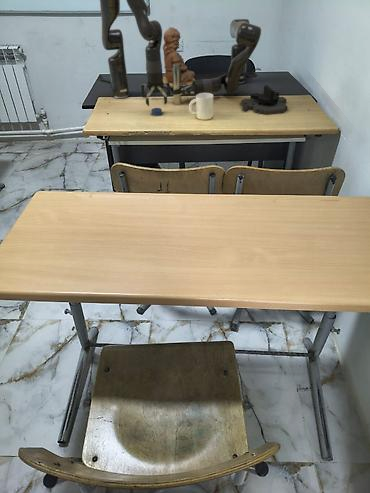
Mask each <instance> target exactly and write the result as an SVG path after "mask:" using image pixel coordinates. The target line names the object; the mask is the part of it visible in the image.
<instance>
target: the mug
mask: <svg viewBox="0 0 370 493" xmlns="http://www.w3.org/2000/svg"><path fill="white" fill-rule="evenodd" d="M194 103H195V111H194V110H193V109H192V107H193V104H194ZM188 112H189V113H190V114H192V115H196V116H195V117H196V118H197V119H198V120H203V121H205V120H211V119H212V118H213V116H214V94H213V93H199V94H197V95H196V96H195V98H193V99H191V101H190V102H189V104H188Z"/></svg>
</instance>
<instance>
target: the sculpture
mask: <svg viewBox="0 0 370 493" xmlns="http://www.w3.org/2000/svg"><path fill="white" fill-rule="evenodd" d="M163 40H164V44H163V45H162V50H163V61H164V71H165V73H164V75H165V76H163V83H165V82H167V81H168V82H169V84H170V88H171V87H173V73H172V68H173V64H176V63H178V64H180V68H181V84H184V83H187V84H190V85H192V83H193V81H195V80H196V79H195V76H196V74H195V72H194V71H192V70H188V66H187V65H186V64H185V60H184V58H183V57H182V56H183V55H180V53H179V52H178V51H177V50H178V49H179V46H180V40H181V33H180V32H179V30H178V29H177V28H174V27H168V28H167V29H166V30H165V31H164V33H163ZM163 88H167V87H166V86H165V85H164V86H163Z"/></svg>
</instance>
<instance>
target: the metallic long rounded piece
mask: <svg viewBox="0 0 370 493" xmlns="http://www.w3.org/2000/svg"><path fill="white" fill-rule="evenodd" d="M172 73H173V90H178V89H180V90H181V68H180V64H178V63H176V64H173V68H172ZM172 95H173V96H172V97H173V98H172V99H173V104H174V105H181V104H182V94H177V95H174V94H173V93H172Z"/></svg>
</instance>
